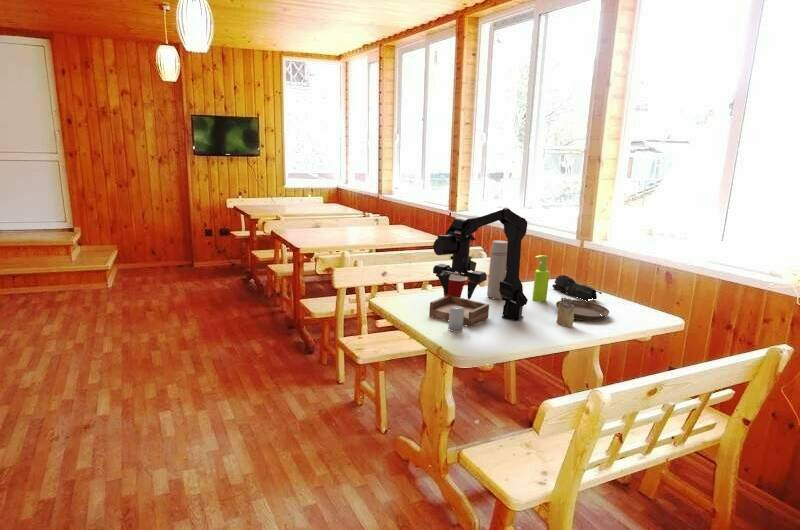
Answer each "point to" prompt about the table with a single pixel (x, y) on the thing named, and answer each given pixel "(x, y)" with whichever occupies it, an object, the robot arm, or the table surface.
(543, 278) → the soap dispenser
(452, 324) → the grey rounded cone
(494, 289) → the water bottle
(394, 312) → the table surface
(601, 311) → the plant saucer
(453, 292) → the plastic cup
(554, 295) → the table surface
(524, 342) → the table surface
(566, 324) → the tan upright block
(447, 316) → the wooden tray
